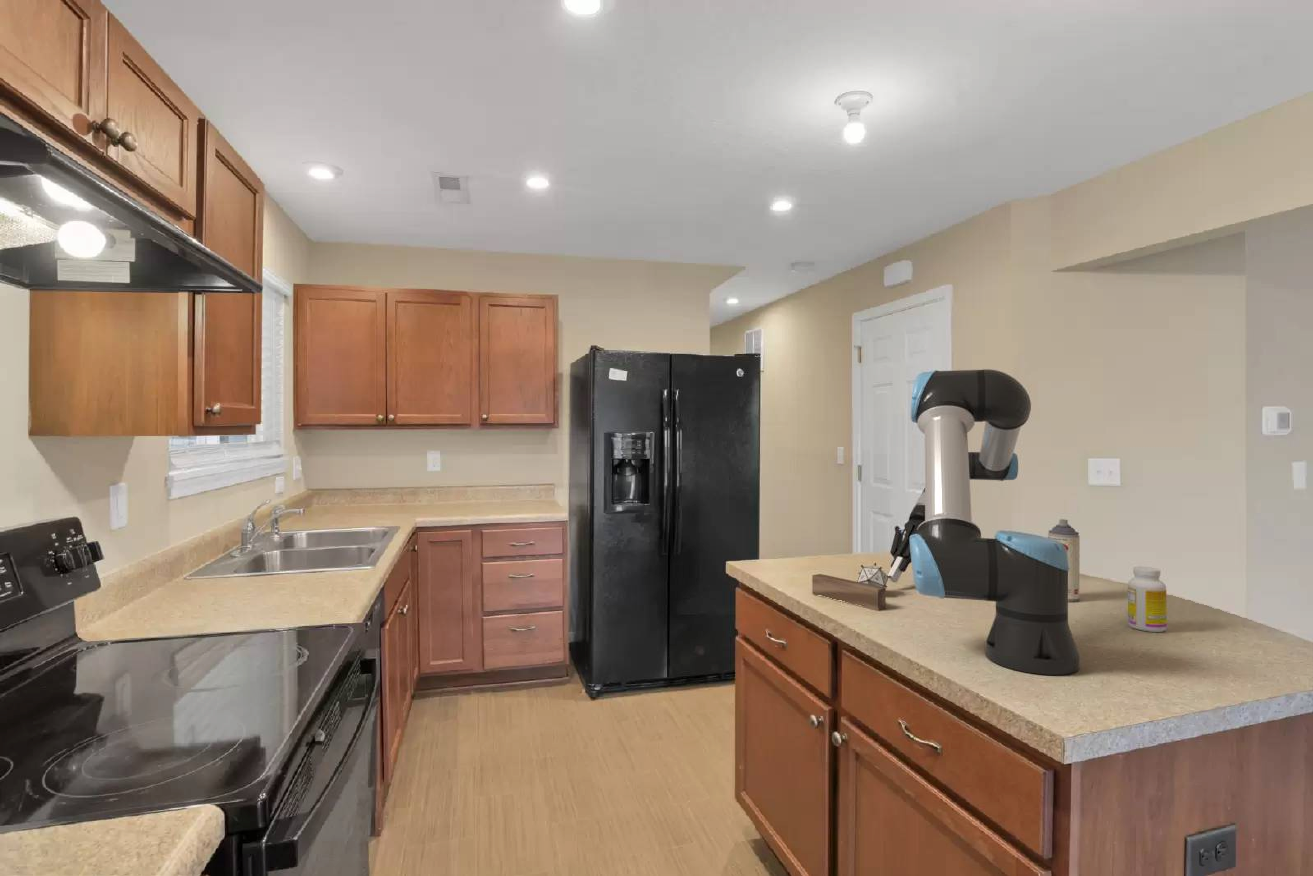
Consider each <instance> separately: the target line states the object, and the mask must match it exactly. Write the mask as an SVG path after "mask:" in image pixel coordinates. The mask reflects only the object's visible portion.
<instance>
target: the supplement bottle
mask: <svg viewBox="0 0 1313 876" xmlns="http://www.w3.org/2000/svg"><path fill="white" fill-rule="evenodd" d="M1132 570H1133V571H1132V573H1133V575H1134V578H1131V579H1130V580H1129V581H1128V582H1127V622H1128V625H1129V627H1130V628H1133V629H1134V628H1135V629H1136V630H1139V631H1144V632H1149V633H1161V632H1164V631H1166V630H1167V624H1168V623H1167V621H1168V620H1167V586H1166V584H1165V583H1164V582H1163V581H1161V580H1160V577H1161V569H1159V568H1155V567H1151V566H1150V567H1149V566H1134V567H1133V569H1132Z"/></svg>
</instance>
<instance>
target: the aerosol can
mask: <svg viewBox="0 0 1313 876" xmlns="http://www.w3.org/2000/svg"><path fill="white" fill-rule="evenodd" d="M1068 522H1069V521H1068V519H1063V518H1062V519H1059V522H1058V523H1057V524H1056V525H1055V526H1053V527H1052V529H1050V530H1048V534H1047V538H1050V539H1053V540H1056V541H1058V542H1060V543H1062V544H1063V545H1064V546H1065V547H1066V549H1067V555H1068V567H1069V571H1068V603H1078V601H1079V602H1080V547H1081V546H1080V542H1081V540H1080V535H1079V532H1077V531H1076V530H1075V528H1073V527H1072V526H1071V525H1070V524H1069V523H1068Z"/></svg>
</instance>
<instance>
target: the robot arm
mask: <svg viewBox="0 0 1313 876" xmlns="http://www.w3.org/2000/svg"><path fill="white" fill-rule="evenodd" d="M1031 409H1032V403H1031V398H1030V396H1029V394H1028V391H1027V390H1026V389H1025V387H1024V385H1022V384H1021V383H1020V381H1018V380H1017V379H1016V378H1015V377H1013V376H1011V375H1010V374H1008V373H1006V372H1004V371H1000V370H997V369H991V368H990V369H989V368H988V369H968V370H967V369H963V370H961V369H959V370H936V369H935V370H932V371H924V372H923V371H922V372H920V373H918V374H917V375H916V376H915V379H914V382H913V387H912V392H911V403H910V420H911V422H913V423H916V424H917V428H918V429H919V431H920V432H921V433H923V434H924V488H923V490H922V492H921V494H920V496H919V498H918V499H917V501H916V502H915V506H914V507H913V509H912V510H911V512H910V513H909V517H908V520H907V522H905V523H904V525H902V526H900V527H899V525H895V527H894V532H895V533H894V537H893V540H892V543H891V548H890V552H889V554H891V556H892V558H893V560H892V561H891V564H890V570H889V572H888V574H887V576H892V577H891V578H888V580H890V581H891V583H896V584H897V583H898V581H899V580H900V577H901V575H902V574H903V573H905V572H906V571H907V569H908V566H909V565H910V564H911V568H912V569H911V570H912V574H913V582H914V586H915V588H916V591H918V593H919V594H921V595H923V596H929V597H934V598H935V597H937V598H939V599H945V598H946V599H959V600H970V601H972V600H973V601H986V602H995V616H994V619H993V622H992V624H991V627H990V630H989V632H988V635H987V637H986V641H985V645H984V646H985V647H984V648H985V649H984V650H985V652H984V654H985V656H986V658H987V659H988V660H990V661H991V662H993V663H995V664H996V665H999V666H1001V667H1002V666H1003V667H1005V668H1007V669H1012V670H1014V671H1019V672H1023V673H1024V672H1025V673H1030V674H1035V675H1036V674H1038V675H1048V676H1050V675H1051V676H1052V675H1053V676H1055V675H1056V676H1061V675H1069V674H1073V673H1077V672H1078V671H1079V670H1080V653H1079V650H1078V648H1077V645H1076V643H1075V642H1076V641H1075V639H1074V636H1073V634H1072V631H1071V629H1070V628H1071V627H1070V625H1069V602H1068V571H1069V567H1068V555H1067V549H1066V547H1065V546H1064V545H1063V544H1062V543H1060V542H1058V541H1056V540H1053V539H1050V538H1048V536H1047V537H1045V536H1042V535H1038V534H1032V533H1029V532H1028V533H1026V532H1021V531H1015V530H1014V531H1013V530H998V531H996V533H995V534H994V538H991V537H990V538H988V537H987V538H986V537H982V531H981V528H980V527H979V526H978V524H976V523H975V522H973V520H972V504H971V502H972V501H971V483H970V482H971V481H972V480H977V481H978V480H979V481H985V480H986V481H998V482H999V481H1001V482H1002V481H1014V480H1016V479H1017V478H1018V474H1019V457H1018V455H1017V453H1015V452H1014V450H1015V447H1016V444H1017V441H1018V438H1019V434H1020V431H1021V427H1022V426H1024V425H1025V424H1026V423H1027V422H1028V421H1029V417H1030V415H1031ZM982 422H984V429H983V433H982V434H983V435H982V440H981V445H980V451H977V452H976V451H969V441H968V433H969V432H971V430H973V428H974V426H975V423H982Z"/></svg>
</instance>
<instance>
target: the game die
mask: <svg viewBox="0 0 1313 876" xmlns="http://www.w3.org/2000/svg"><path fill="white" fill-rule="evenodd" d="M860 568H861V570H860V572H858V575H859V576H858V578H857V580H856V582H860V583H865V584H870V585H874V586H879V587H884V588H886V589H887V588H888V586H887V583H888V580H889V578H891V577H892V576H888V574H886V573H885V572H884V571H883V568H882V566H880V567H878V566H877V563H876V562H875V563H874V565H869V566H868V565H867V566H863V564H860Z"/></svg>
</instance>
